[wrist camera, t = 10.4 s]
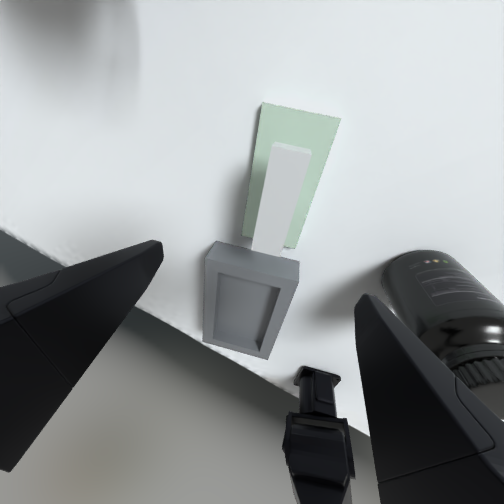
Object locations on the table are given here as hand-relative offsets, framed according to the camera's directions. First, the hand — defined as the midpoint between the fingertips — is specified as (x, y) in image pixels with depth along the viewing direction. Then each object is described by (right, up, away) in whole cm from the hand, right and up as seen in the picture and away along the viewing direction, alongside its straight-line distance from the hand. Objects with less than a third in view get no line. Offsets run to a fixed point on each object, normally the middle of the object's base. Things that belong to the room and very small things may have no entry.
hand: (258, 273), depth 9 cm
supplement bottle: (+17, -1, +13) cm, 22 cm away
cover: (+3, +7, +11) cm, 13 cm away
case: (-1, -5, +20) cm, 21 cm away
